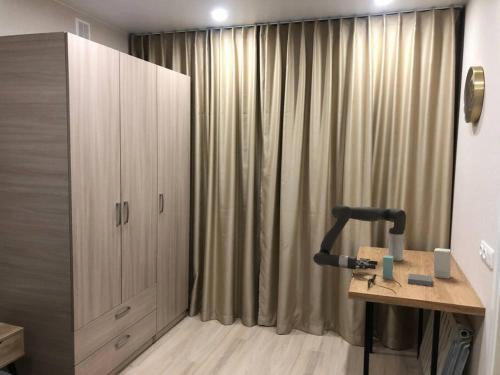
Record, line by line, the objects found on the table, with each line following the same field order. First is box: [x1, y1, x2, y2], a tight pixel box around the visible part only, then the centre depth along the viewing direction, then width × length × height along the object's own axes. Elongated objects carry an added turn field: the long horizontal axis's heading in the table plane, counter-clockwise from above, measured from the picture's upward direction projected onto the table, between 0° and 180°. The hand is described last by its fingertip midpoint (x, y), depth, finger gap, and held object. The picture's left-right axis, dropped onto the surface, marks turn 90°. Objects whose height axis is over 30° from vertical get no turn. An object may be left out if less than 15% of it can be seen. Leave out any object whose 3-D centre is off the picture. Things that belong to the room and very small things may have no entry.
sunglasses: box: [367, 273, 403, 294], centre depth 212 cm, size 14×15×5 cm
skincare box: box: [433, 247, 452, 280], centre depth 229 cm, size 8×7×16 cm
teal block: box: [382, 254, 394, 280], centre depth 228 cm, size 5×5×12 cm
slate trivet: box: [407, 273, 433, 287], centre depth 221 cm, size 10×12×2 cm
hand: (376, 265), depth 231 cm, fingers open, 8 cm apart
